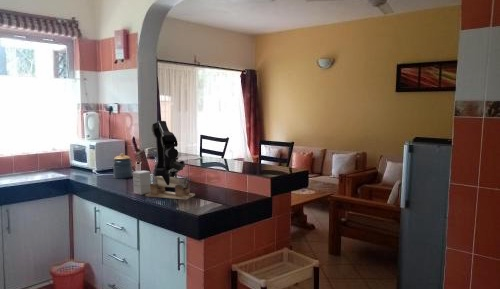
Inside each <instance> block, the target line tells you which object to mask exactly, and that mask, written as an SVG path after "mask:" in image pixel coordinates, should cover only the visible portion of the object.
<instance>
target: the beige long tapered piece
mask: <svg viewBox="0 0 500 289" xmlns="http://www.w3.org/2000/svg"><path fill="white" fill-rule="evenodd" d="M174 188H175V189H174V190H175V191H166V188H165V187H162V186H158V184H153V183H151V184H150V190H151V193H146V194H144V196H145V197H149V198H159V199H160V198H161V199H162V198H164V199H172V200H176V199H177V200H188V199H190V198H192V197H195V196H196V193H192V192H190V191H191V190H190V182H187V187H185V188H183V185H176V186H175V187H174Z"/></svg>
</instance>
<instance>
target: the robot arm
mask: <svg viewBox="0 0 500 289" xmlns="http://www.w3.org/2000/svg"><path fill="white" fill-rule="evenodd" d="M167 124H168V123H167V121H166V120H158V121H156V122H155V123H152V125H151V132H152V135H153V137H154V138H155V143H156V144H155V145H156V147H155V148H156V163H155V165H154V169H153V177H155V176H162V177H163V178H164V180H165V182H166V184H167V185H169V181H170V177H176V174H177V173H179V172H180V171H183V170H184V168H185V167H186V165H185V161H184V160H181V161H178V160H177V157H178V156H179V151H178V149H177V147H178V144H179V143H178V139H177V137H176V136H175V134H174V133H173V132H171V131H170V130H169V128H168V125H167ZM175 147H176V148H175ZM153 177H152V178H153ZM167 188H168V187H165V189H167Z"/></svg>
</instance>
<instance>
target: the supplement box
mask: <svg viewBox="0 0 500 289" xmlns="http://www.w3.org/2000/svg"><path fill="white" fill-rule="evenodd" d="M151 176H152V175H151V171H149V170H137V171H132V180H133V194H136V195H146V194H148V193H151V190H150V184H152V177H151Z"/></svg>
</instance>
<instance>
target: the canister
mask: <svg viewBox="0 0 500 289" xmlns="http://www.w3.org/2000/svg"><path fill="white" fill-rule="evenodd" d="M112 163H113V167H112V168H113V178H114V179H119V180H120V179H129V178H133V165H132V159H131V157H130V156H129V155H125V154H124V153H123V152H122V153H120V154H119V155H116V156H115V157H114V158H113V161H112Z"/></svg>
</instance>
